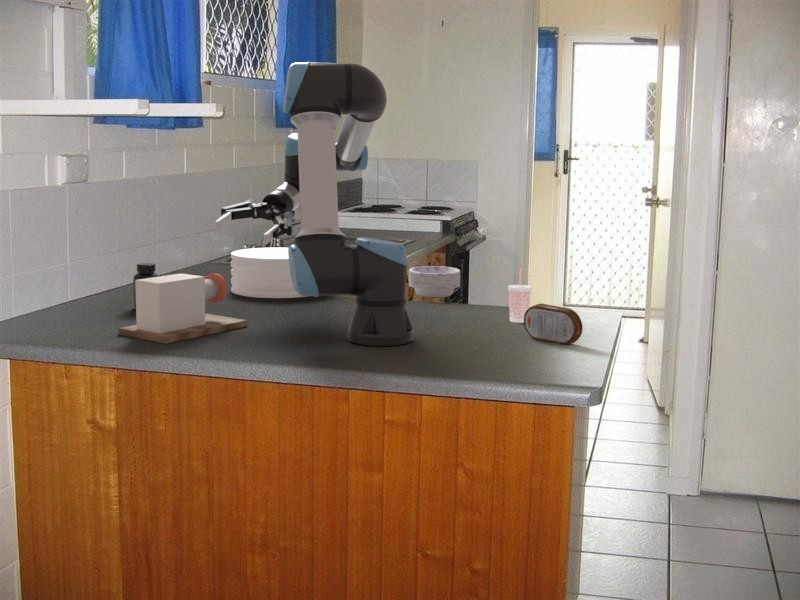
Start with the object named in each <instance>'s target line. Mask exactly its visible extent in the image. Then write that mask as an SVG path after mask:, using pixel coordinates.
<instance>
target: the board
mask: <svg viewBox="0 0 800 600" xmlns="http://www.w3.org/2000/svg"><path fill="white" fill-rule="evenodd" d="M245 327H248V320H247V319H243V318H242V319H241V318H238V317H237V318H236V317H235V318H234V317H230V316H223V315H218V314H217V315H216V314H211V313H206V312H205V324H204V325H199V326H194V327H190V328H185V329H180V330H175V331H170V332H165V333H155V332H150V331H144V330H139V329H137V324H133V325H128V326H124V327H123V326H121V327H118V331H117V332H118V335H119V336H125V337H129V338H130V337H131V338H135V339H141V340H145V341H149V342H155V343H160V344H164V345H165V344H166V345H167V344H170V343H176V342H180V341H184V340H190V339H195V338H198V337H203V336H208V335H213V334H217V333H221V332H226V331H231V330H235V329H240V328H245Z"/></svg>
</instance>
